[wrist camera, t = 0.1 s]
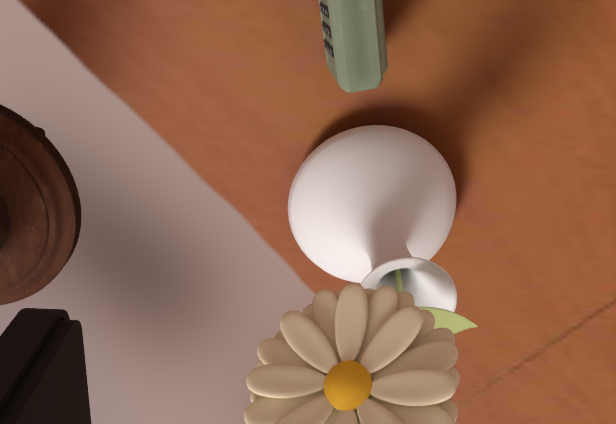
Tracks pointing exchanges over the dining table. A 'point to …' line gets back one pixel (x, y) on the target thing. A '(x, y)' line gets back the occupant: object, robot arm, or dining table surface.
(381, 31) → the handheld radio
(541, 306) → the dining table surface
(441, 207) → the flower in vase
